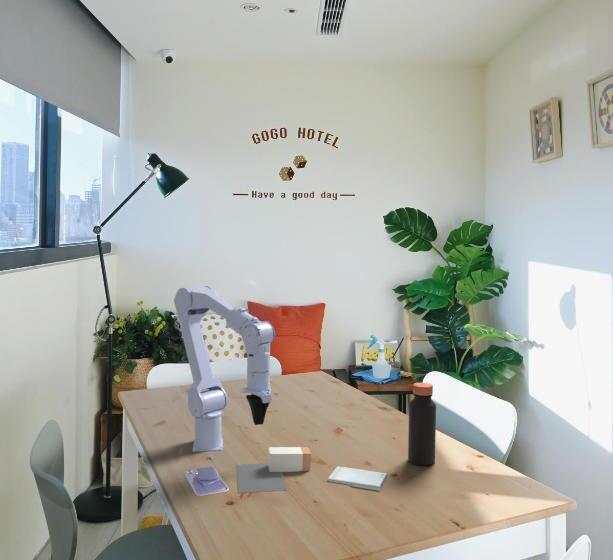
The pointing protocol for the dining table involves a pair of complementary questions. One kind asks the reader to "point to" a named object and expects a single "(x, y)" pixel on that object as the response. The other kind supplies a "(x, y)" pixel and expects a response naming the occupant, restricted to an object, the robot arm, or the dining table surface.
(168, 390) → the dining table surface
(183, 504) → the dining table surface
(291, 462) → the block
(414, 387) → the bottle
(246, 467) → the mat
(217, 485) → the mobile phone
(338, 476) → the hard drive
